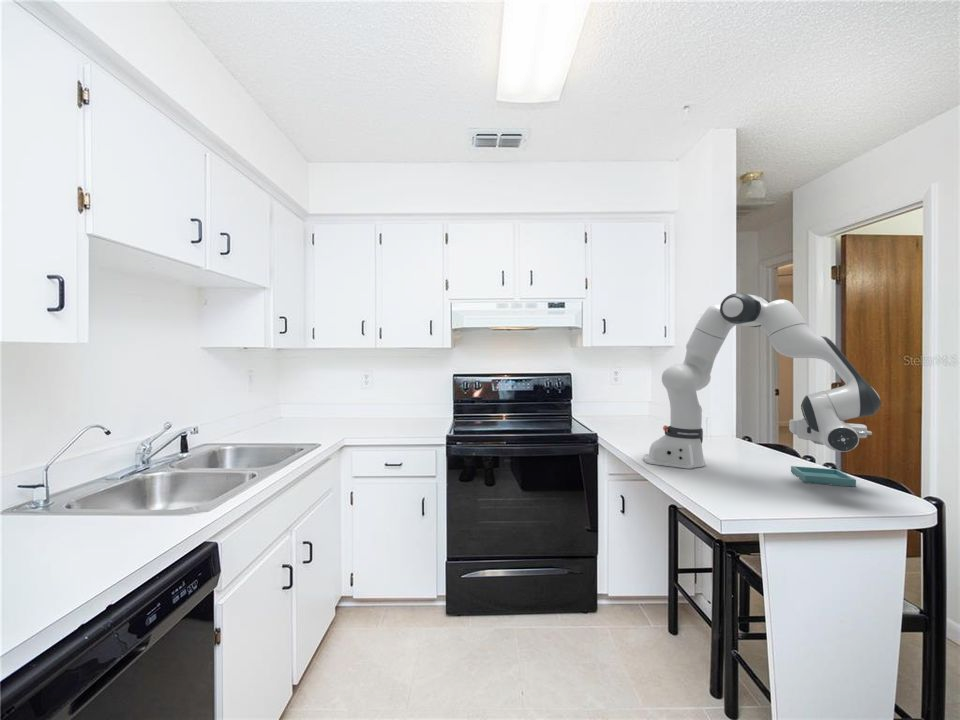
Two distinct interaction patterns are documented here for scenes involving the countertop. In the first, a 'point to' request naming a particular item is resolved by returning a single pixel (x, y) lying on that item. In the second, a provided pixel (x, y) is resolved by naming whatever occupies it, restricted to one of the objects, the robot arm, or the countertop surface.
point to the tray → (823, 476)
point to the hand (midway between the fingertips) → (822, 425)
